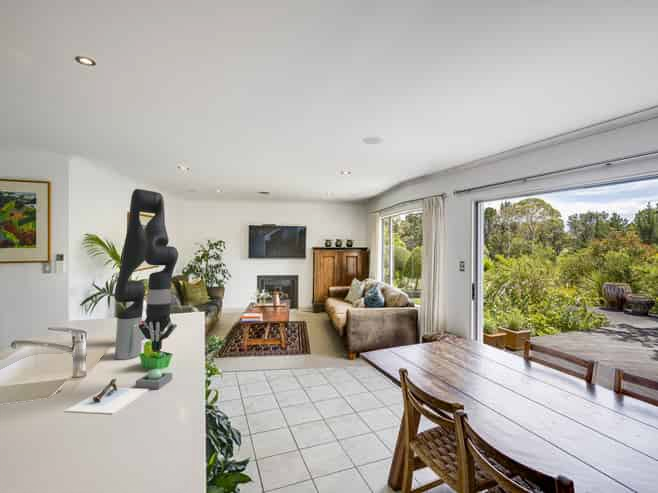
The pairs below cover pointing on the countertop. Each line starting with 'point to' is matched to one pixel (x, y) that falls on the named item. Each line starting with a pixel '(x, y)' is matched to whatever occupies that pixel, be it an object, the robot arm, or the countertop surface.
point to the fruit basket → (154, 357)
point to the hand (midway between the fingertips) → (156, 351)
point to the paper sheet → (108, 401)
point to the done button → (154, 374)
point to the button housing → (153, 381)
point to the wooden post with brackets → (97, 398)
